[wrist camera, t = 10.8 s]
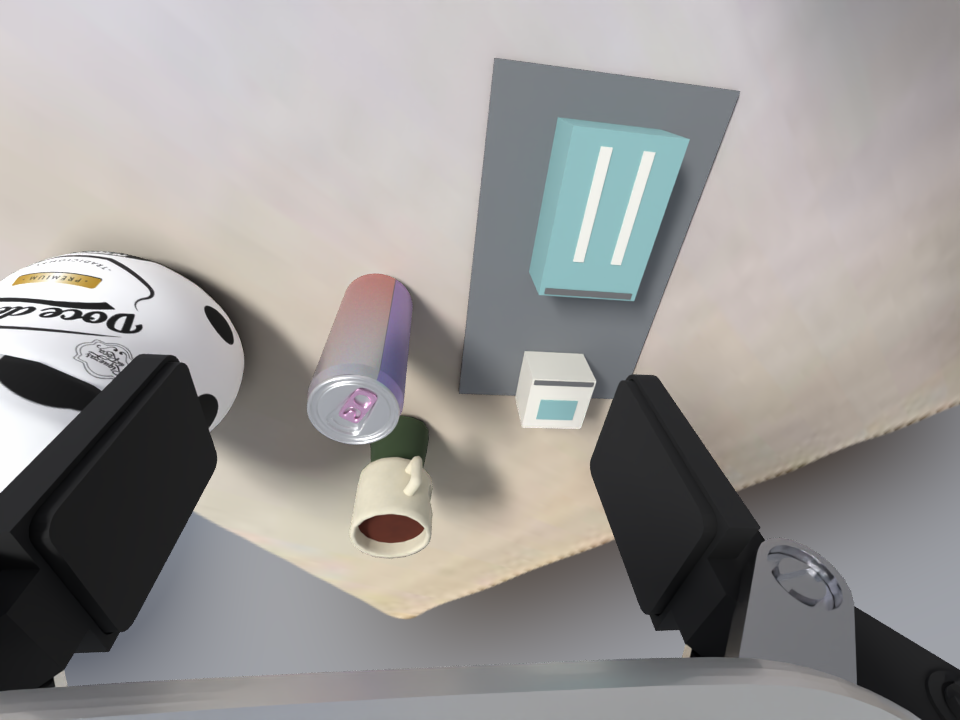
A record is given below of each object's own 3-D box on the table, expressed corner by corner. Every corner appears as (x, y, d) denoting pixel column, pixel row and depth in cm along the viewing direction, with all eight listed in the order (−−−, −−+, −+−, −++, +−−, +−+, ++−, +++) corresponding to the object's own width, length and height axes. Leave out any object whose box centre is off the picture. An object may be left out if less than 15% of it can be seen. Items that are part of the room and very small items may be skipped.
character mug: (409, 470, 52) (402, 576, 42) (351, 452, 50) (329, 560, 39) (452, 408, 47) (456, 511, 37) (390, 385, 45) (376, 488, 34)
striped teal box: (557, 117, 32) (574, 125, 28) (661, 129, 33) (690, 139, 29) (529, 271, 38) (539, 295, 35) (615, 278, 39) (634, 301, 36)
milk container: (124, 192, 33) (-133, 306, 18) (296, 351, 42) (220, 513, 27) (-10, 308, 37) (-306, 477, 22) (174, 429, 46) (50, 606, 31)
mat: (494, 57, 30) (495, 57, 29) (737, 90, 32) (740, 91, 32) (458, 391, 46) (459, 393, 46) (621, 396, 48) (622, 399, 48)
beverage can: (425, 293, 39) (420, 402, 27) (391, 340, 42) (372, 459, 29) (366, 257, 37) (331, 358, 25) (333, 308, 39) (286, 423, 27)
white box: (524, 351, 43) (533, 379, 39) (583, 353, 44) (596, 382, 40) (515, 397, 46) (522, 428, 43) (569, 399, 47) (580, 429, 43)
